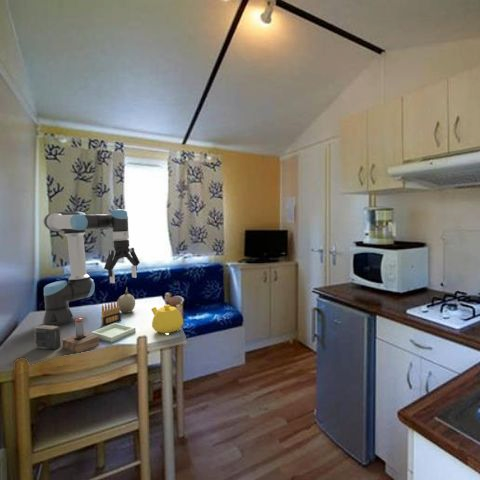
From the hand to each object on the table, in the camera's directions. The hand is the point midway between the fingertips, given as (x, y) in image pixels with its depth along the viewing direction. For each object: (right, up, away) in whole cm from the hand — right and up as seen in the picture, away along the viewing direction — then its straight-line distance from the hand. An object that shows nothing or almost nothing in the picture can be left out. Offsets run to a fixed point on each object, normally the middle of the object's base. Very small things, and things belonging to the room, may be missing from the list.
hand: (123, 280), depth 150 cm
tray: (-4, -27, -3) cm, 28 cm away
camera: (-29, -30, -16) cm, 44 cm away
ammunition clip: (-13, -27, +14) cm, 33 cm away
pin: (-14, -29, -16) cm, 36 cm away
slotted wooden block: (-14, -29, -16) cm, 36 cm away
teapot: (+22, -27, 0) cm, 34 cm away
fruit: (-11, -25, +32) cm, 42 cm away
